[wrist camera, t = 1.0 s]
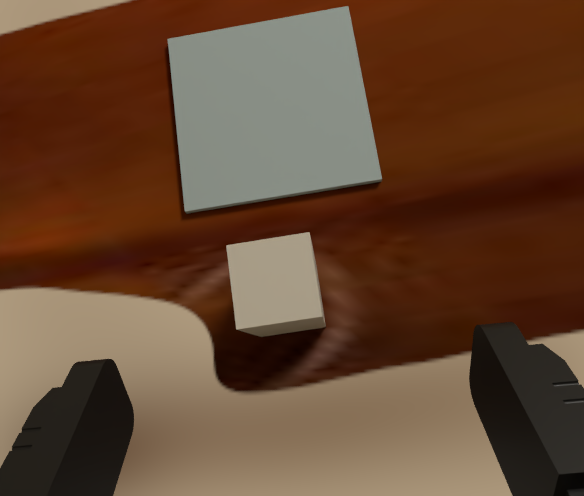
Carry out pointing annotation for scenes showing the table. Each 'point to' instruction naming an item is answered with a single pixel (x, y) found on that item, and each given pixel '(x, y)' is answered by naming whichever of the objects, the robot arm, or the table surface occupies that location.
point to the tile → (271, 111)
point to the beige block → (275, 285)
